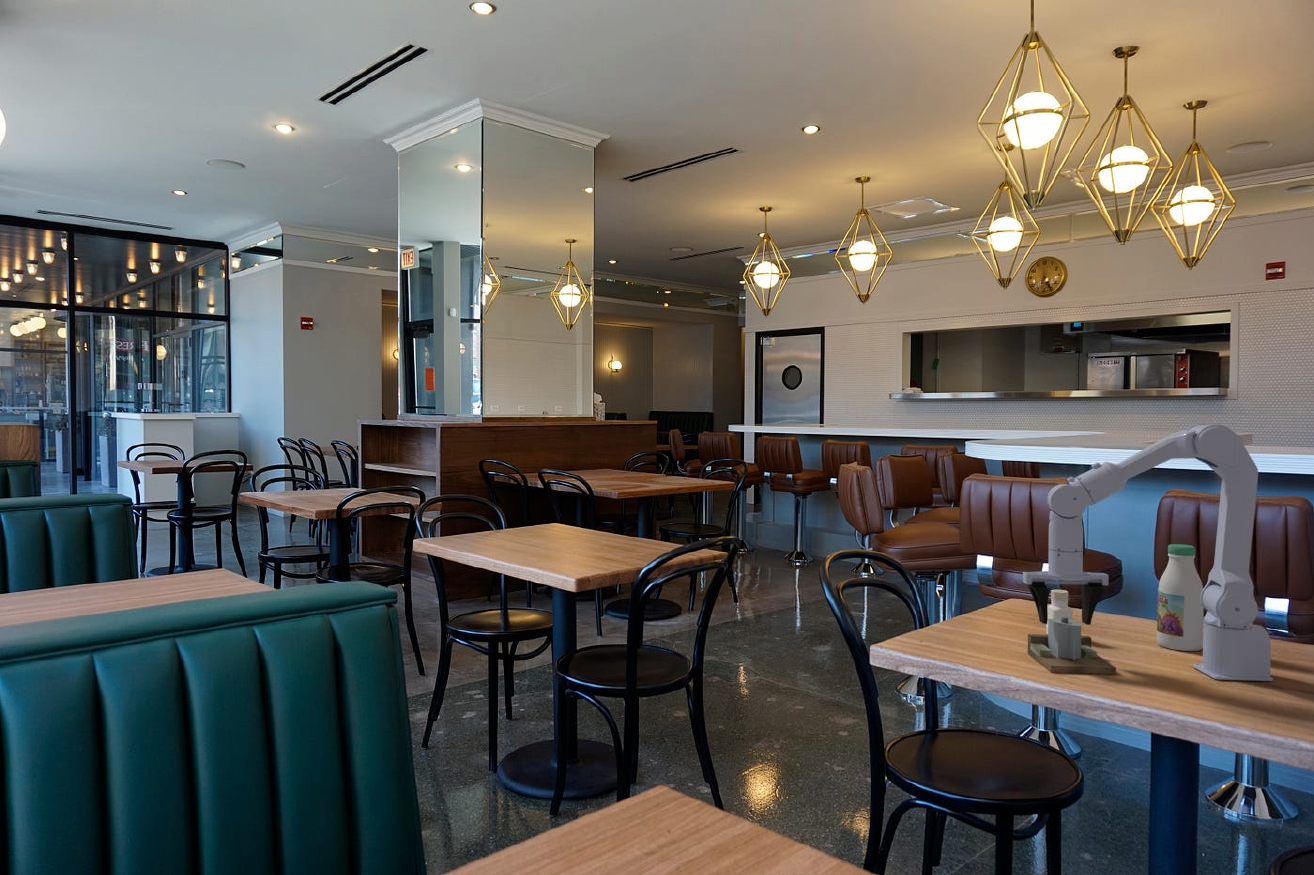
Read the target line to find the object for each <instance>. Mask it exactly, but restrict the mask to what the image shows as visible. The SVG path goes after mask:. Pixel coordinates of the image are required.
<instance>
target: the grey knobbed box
mask: <svg viewBox="0 0 1314 875" xmlns="http://www.w3.org/2000/svg"><path fill="white" fill-rule="evenodd" d="M1081 636H1082V625H1081V624H1079V623H1077V622H1075V621H1074V620H1071V619H1068V618H1066V617H1061V619H1048V648H1049V649H1050V650H1051V653H1052V654H1053V655H1055V656H1056V657H1057V658H1072V659H1073V660H1075V659H1081Z"/></svg>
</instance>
